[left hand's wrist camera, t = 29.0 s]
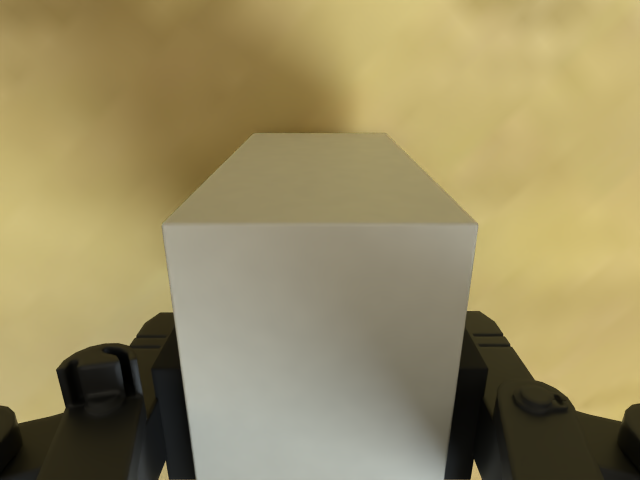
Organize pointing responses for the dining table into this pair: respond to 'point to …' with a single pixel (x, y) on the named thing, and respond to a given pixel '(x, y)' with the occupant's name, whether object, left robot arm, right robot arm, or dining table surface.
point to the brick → (319, 311)
